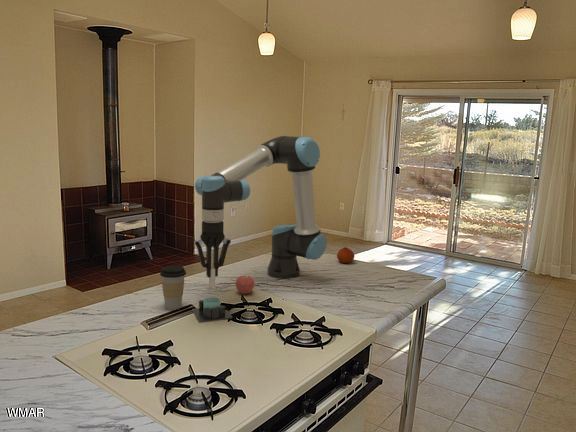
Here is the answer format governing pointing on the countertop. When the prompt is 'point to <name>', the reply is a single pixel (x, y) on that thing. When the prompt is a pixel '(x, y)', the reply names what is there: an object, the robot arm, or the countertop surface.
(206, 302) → the cap
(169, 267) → the coffee cup
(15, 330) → the countertop surface
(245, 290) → the apple
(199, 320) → the dark grey raised block
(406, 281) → the countertop surface
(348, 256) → the fruit
